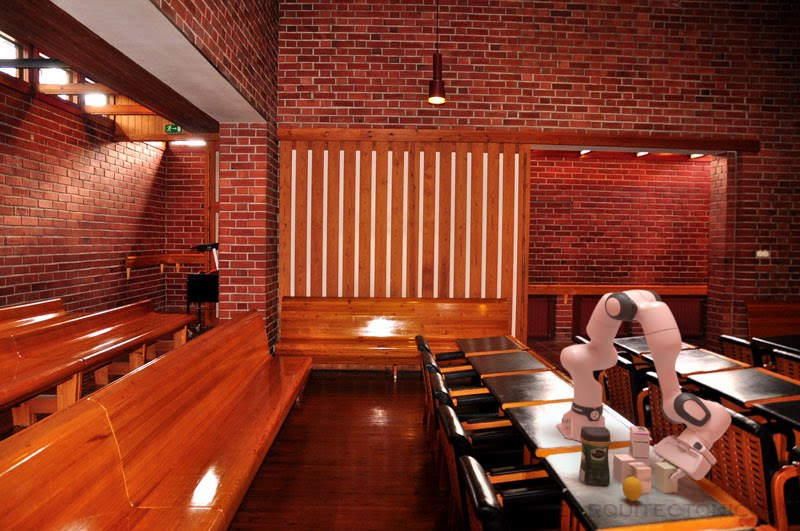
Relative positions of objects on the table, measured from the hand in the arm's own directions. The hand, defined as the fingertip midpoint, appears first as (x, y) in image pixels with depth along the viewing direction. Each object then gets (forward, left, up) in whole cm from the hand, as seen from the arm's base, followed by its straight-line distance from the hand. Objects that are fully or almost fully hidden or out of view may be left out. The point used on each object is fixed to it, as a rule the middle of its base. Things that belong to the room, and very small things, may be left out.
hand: (664, 475), depth 175 cm
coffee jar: (-9, -20, -5) cm, 22 cm away
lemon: (+6, -15, -5) cm, 17 cm away
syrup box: (-16, +2, -5) cm, 17 cm away
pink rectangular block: (-8, -9, -5) cm, 13 cm away
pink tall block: (-1, -8, -5) cm, 10 cm away
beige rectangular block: (0, +1, -5) cm, 5 cm away
